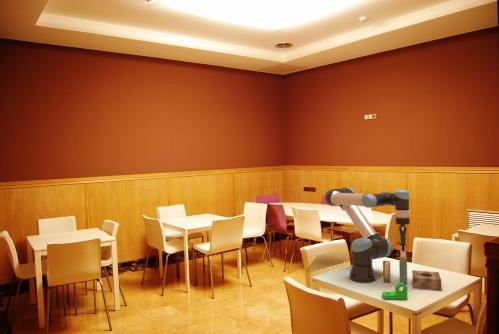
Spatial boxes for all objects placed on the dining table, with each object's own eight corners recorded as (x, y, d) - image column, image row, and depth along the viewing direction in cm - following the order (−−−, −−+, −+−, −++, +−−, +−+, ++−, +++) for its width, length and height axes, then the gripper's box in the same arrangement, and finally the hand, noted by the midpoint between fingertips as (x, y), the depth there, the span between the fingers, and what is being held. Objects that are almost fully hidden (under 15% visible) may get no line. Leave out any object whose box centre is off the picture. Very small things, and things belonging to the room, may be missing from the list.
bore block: (413, 288, 212) (413, 277, 212) (412, 280, 225) (412, 270, 225) (441, 290, 207) (441, 279, 207) (438, 282, 220) (438, 272, 220)
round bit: (383, 282, 223) (382, 262, 222) (383, 280, 226) (383, 260, 226) (390, 283, 221) (390, 262, 221) (390, 281, 225) (390, 260, 224)
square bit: (399, 284, 219) (399, 258, 219) (399, 281, 223) (399, 256, 223) (407, 284, 218) (406, 258, 217) (407, 282, 222) (406, 256, 221)
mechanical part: (403, 294, 204) (402, 279, 203) (407, 299, 198) (407, 283, 197) (380, 295, 204) (380, 280, 204) (384, 299, 198) (384, 284, 198)
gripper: (410, 220, 206) (410, 259, 207) (409, 213, 229) (409, 248, 230) (395, 220, 209) (396, 258, 209) (395, 213, 232) (396, 248, 233)
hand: (403, 253), depth 220 cm, fingers open, 13 cm apart
